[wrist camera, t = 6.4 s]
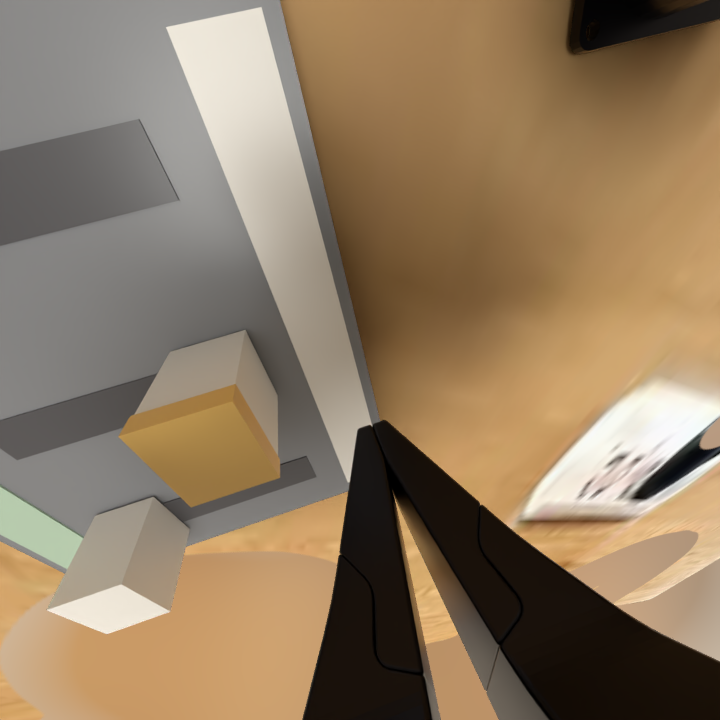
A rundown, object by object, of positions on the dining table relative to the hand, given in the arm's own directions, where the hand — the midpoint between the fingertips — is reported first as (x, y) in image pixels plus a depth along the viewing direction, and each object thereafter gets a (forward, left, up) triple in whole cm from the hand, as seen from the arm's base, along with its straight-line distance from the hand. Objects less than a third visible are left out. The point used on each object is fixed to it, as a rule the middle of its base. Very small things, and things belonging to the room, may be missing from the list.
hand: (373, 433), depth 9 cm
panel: (+9, 0, -7) cm, 12 cm away
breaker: (+13, +8, -6) cm, 16 cm away
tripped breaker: (+5, 0, -6) cm, 8 cm away
